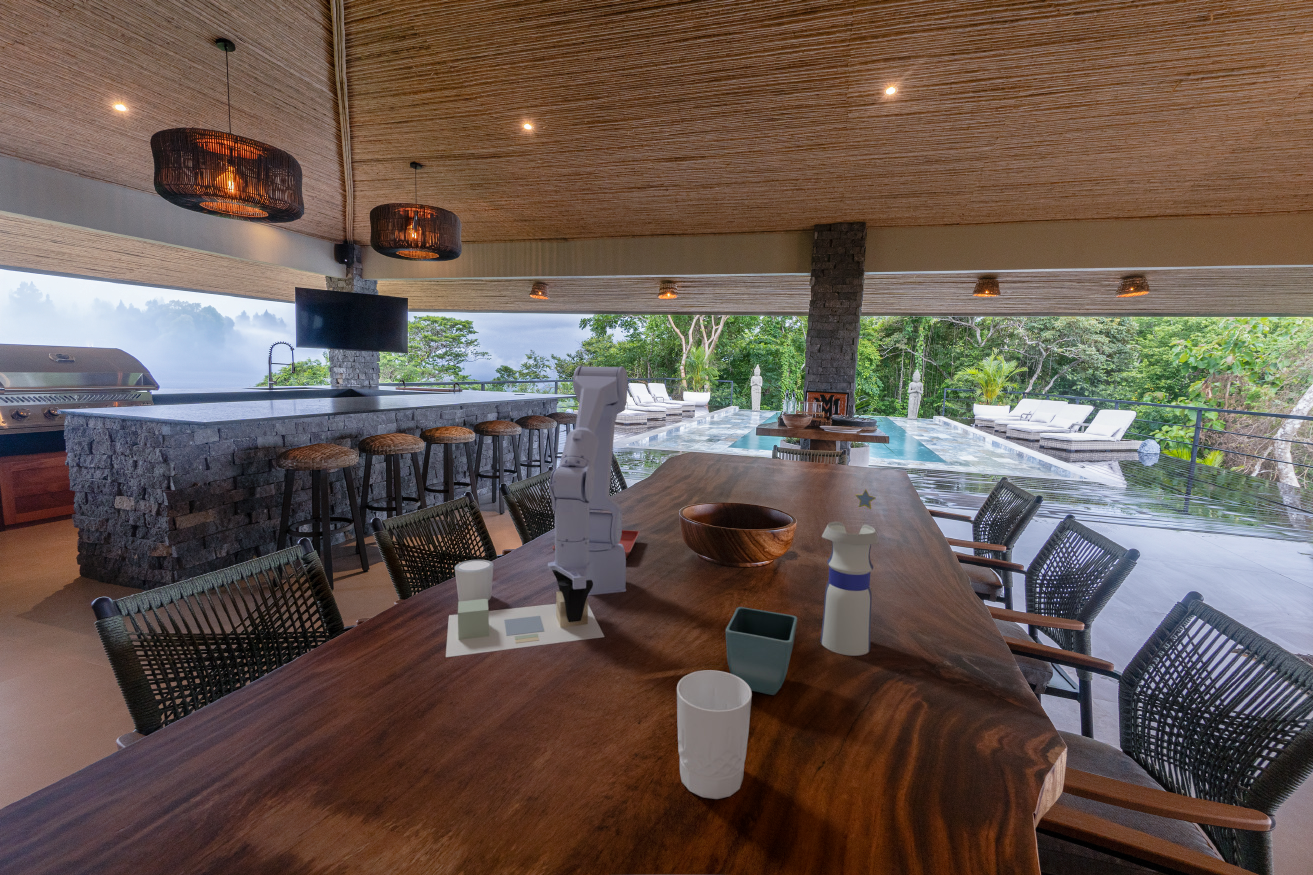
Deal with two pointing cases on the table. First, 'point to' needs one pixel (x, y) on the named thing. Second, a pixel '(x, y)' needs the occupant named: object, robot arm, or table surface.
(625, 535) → the plant saucer
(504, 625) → the blueprint baseplate
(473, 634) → the sage block
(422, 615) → the table surface
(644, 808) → the table surface
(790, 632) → the flower pot
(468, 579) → the white tumbler
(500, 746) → the table surface
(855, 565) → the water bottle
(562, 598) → the maple block
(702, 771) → the white cup
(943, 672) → the table surface
